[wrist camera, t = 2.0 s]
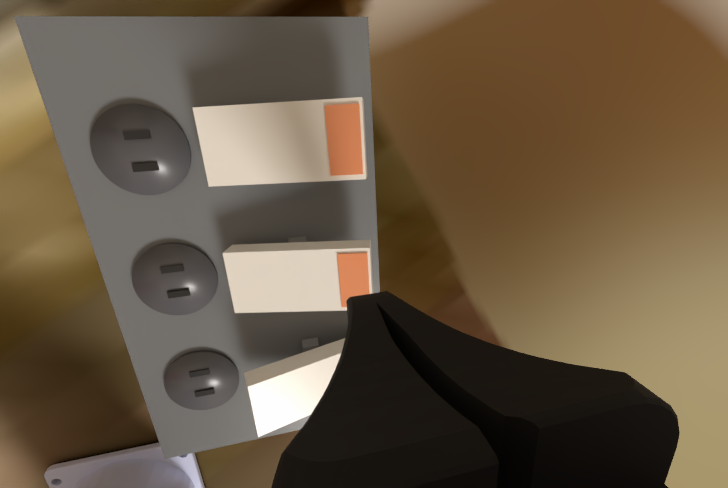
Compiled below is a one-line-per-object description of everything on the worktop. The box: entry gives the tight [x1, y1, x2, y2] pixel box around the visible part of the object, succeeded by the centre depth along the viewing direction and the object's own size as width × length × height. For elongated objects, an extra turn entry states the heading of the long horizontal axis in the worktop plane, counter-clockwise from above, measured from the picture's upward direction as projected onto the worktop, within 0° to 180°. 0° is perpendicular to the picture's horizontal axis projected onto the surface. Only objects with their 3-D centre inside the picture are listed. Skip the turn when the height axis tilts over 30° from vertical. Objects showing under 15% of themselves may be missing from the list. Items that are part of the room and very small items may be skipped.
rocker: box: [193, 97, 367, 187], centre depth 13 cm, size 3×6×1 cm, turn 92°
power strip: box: [14, 16, 380, 459], centre depth 17 cm, size 20×12×4 cm, turn 2°
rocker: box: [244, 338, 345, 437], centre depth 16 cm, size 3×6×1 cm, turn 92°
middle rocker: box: [223, 240, 373, 313], centre depth 15 cm, size 3×6×1 cm, turn 93°
